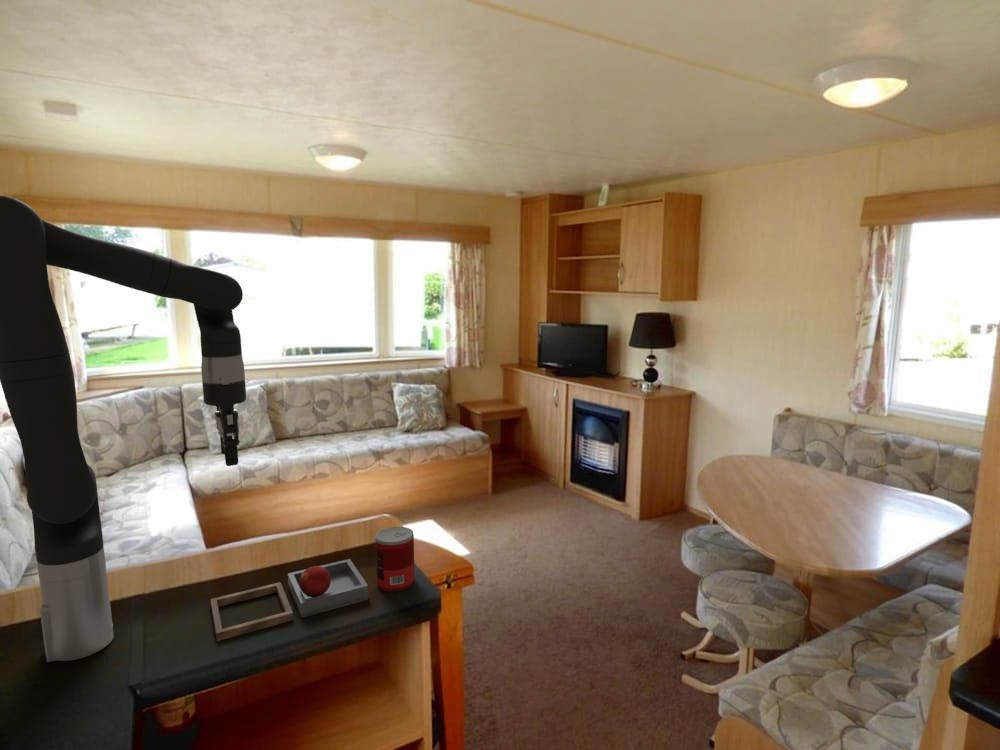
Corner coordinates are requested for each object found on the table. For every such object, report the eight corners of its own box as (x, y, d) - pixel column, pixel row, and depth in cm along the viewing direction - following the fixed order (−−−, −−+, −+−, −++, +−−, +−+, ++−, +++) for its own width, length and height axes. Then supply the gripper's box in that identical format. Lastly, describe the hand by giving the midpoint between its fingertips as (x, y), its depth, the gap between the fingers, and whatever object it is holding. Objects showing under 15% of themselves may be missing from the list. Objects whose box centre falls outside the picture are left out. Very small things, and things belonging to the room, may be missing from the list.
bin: (301, 617, 110) (300, 603, 110) (288, 587, 122) (287, 573, 121) (368, 599, 117) (368, 585, 116) (350, 571, 128) (349, 558, 128)
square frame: (217, 641, 103) (216, 633, 103) (211, 606, 114) (210, 599, 114) (293, 620, 110) (292, 612, 110) (280, 588, 121) (280, 582, 121)
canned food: (422, 579, 125) (421, 531, 123) (396, 596, 118) (395, 545, 116) (395, 570, 129) (393, 523, 127) (369, 586, 122) (367, 536, 120)
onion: (325, 606, 116) (300, 598, 110) (308, 591, 119) (283, 581, 113) (343, 580, 118) (320, 570, 111) (326, 565, 121) (303, 555, 115)
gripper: (199, 374, 117) (206, 452, 120) (204, 386, 105) (211, 472, 108) (240, 372, 121) (245, 447, 124) (249, 382, 109) (255, 466, 111)
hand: (229, 459), depth 116 cm, fingers open, 8 cm apart
